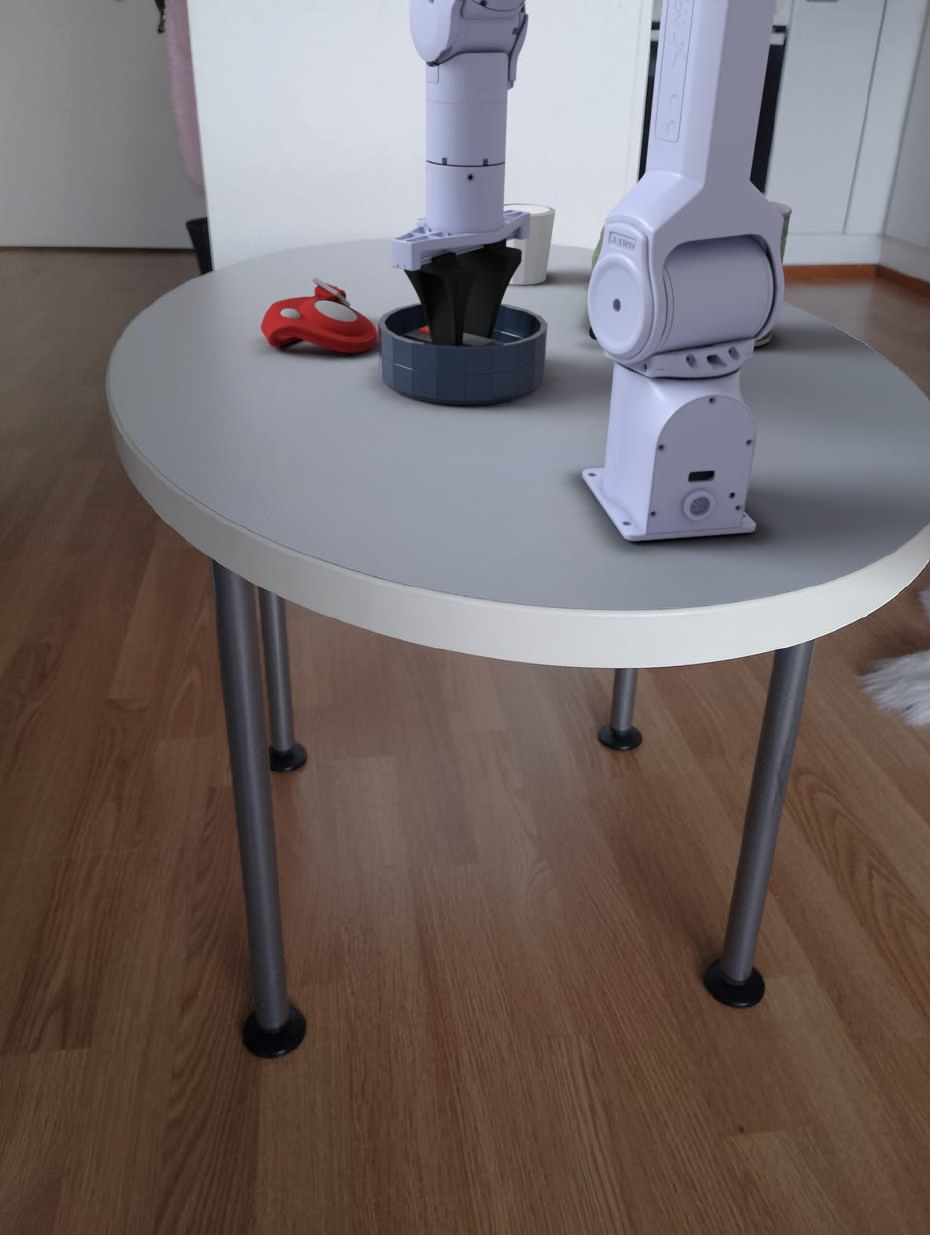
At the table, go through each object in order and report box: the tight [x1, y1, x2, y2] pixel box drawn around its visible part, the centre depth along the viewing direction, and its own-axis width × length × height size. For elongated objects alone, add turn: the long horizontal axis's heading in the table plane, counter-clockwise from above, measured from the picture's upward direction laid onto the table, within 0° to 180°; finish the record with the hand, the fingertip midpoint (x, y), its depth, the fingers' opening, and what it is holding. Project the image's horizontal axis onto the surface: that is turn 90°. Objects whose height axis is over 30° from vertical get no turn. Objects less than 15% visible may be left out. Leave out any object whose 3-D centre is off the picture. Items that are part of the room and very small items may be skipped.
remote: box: [404, 326, 505, 347], centre depth 83 cm, size 9×3×2 cm, turn 53°
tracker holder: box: [260, 276, 378, 354], centre depth 92 cm, size 12×4×10 cm
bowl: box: [377, 302, 549, 406], centre depth 83 cm, size 13×13×4 cm
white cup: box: [504, 203, 556, 286], centre depth 110 cm, size 7×7×7 cm
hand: (462, 347), depth 83 cm, fingers closed on remote, 3 cm apart
